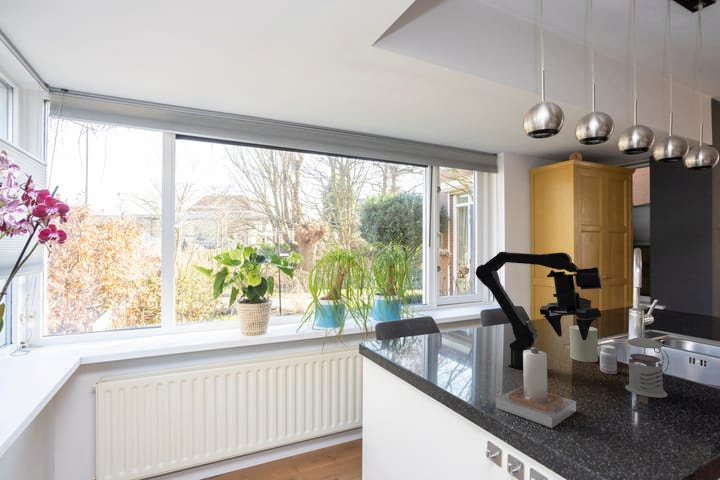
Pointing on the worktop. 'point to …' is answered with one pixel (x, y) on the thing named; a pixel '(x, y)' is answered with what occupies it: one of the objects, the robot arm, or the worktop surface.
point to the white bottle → (535, 375)
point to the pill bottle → (608, 359)
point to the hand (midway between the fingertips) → (571, 338)
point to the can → (583, 345)
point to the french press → (646, 368)
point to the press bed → (537, 407)
